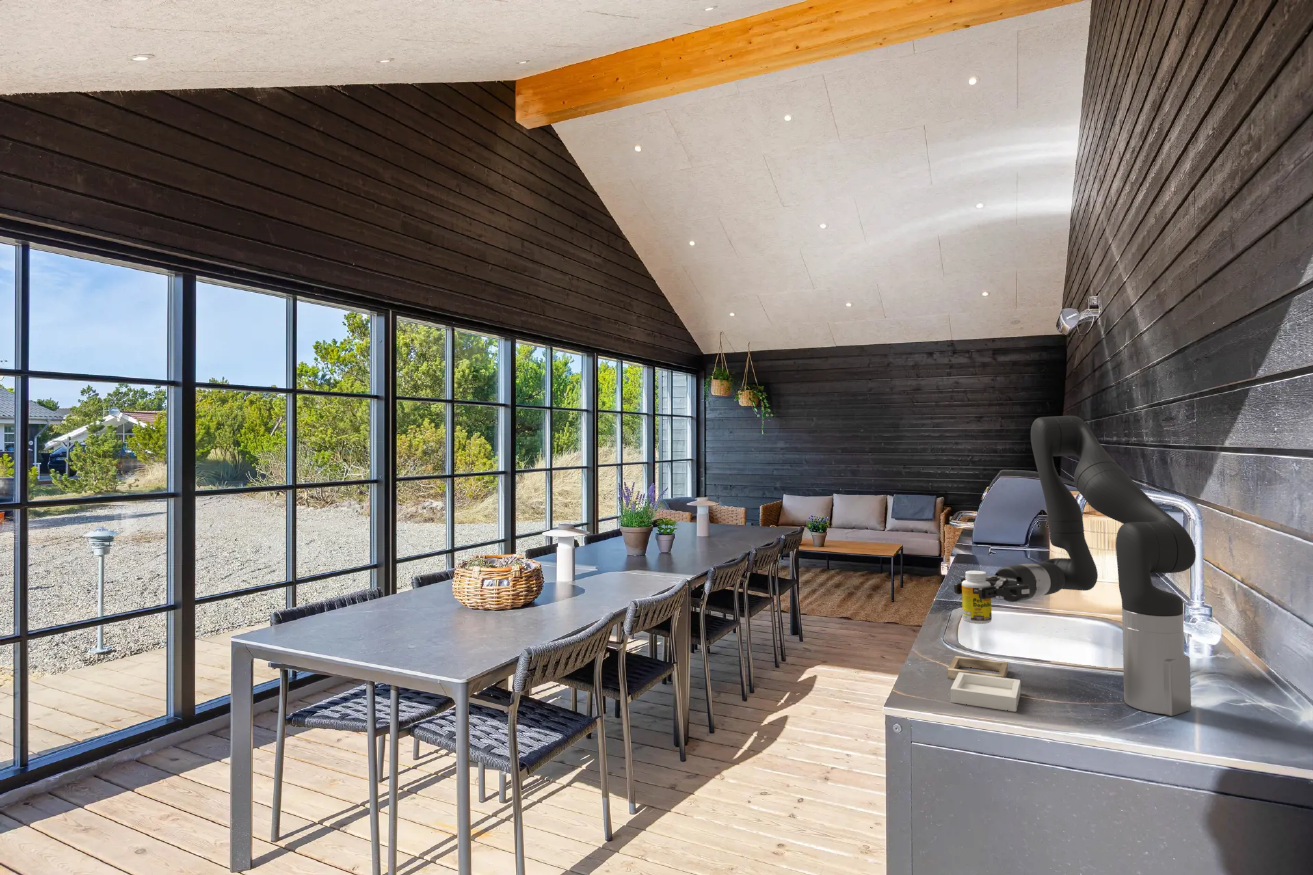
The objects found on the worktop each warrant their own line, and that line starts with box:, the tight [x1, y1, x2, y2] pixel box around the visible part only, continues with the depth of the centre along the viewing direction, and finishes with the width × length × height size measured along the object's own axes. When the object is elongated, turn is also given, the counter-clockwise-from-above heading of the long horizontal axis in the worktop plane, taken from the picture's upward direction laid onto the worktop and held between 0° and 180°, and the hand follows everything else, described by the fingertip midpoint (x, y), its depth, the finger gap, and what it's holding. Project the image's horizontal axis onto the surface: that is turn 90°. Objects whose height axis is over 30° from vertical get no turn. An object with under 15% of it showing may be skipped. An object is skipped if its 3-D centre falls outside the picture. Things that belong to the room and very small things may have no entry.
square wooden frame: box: [947, 655, 1009, 680], centre depth 153 cm, size 10×10×2 cm
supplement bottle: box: [961, 570, 993, 625], centre depth 153 cm, size 6×6×10 cm
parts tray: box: [950, 672, 1022, 713], centre depth 140 cm, size 11×11×2 cm
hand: (968, 591), depth 152 cm, fingers closed on supplement bottle, 5 cm apart
